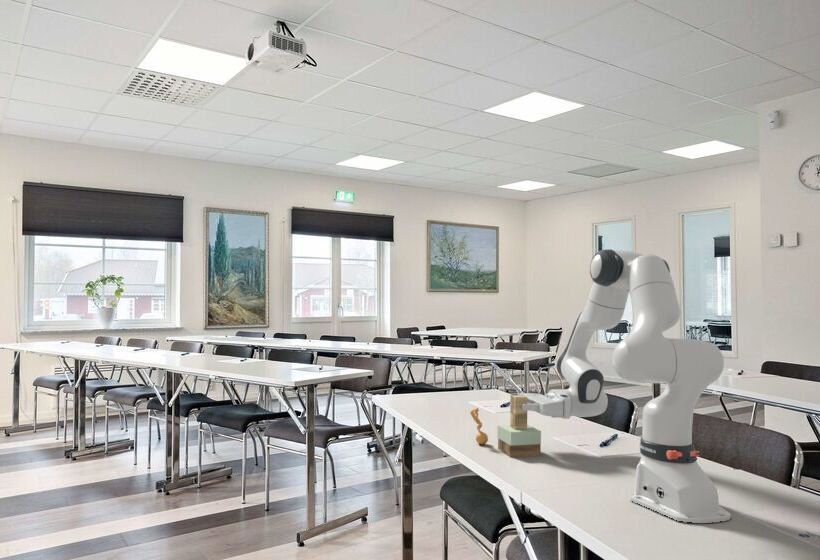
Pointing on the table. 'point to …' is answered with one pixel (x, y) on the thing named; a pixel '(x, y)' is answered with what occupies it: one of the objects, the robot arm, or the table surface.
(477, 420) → the figurine
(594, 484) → the table surface
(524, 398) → the oak post
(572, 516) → the table surface
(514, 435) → the pale green square slab
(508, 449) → the tower base
